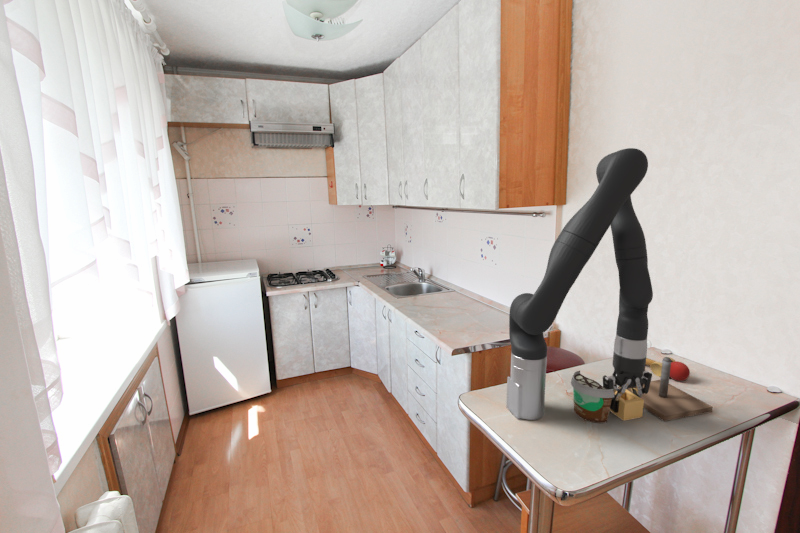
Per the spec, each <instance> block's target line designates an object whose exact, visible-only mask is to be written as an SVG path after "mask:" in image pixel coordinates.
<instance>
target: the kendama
mask: <svg viewBox="0 0 800 533" xmlns="http://www.w3.org/2000/svg"><path fill="white" fill-rule="evenodd" d="M668 357H669V358H670V359H671V368H670V376H669V378H671V379H672V380H674V381H677V382H678V381H679V382H683V381H687V379H688V378H689V377H690V368H689V367H688V366H687V365H686V364H685V363H684V362H682V361H676V360H675V359H674V358H673V357H670V356H668ZM662 362H663V360H662V361H661V362H660V361H656V360H654V359H650V358H648V357H646V365H645V366H648V367H649V366H650V370H651V373H652V374H654V375H655V376H657V377H659V378H661V370H662Z"/></svg>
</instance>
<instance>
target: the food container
mask: <svg viewBox="0 0 800 533" xmlns="http://www.w3.org/2000/svg"><path fill="white" fill-rule="evenodd" d="M570 385H571V386H572V389H573V391H572V392H573V393H572V394H573V411H574V414H576V415H577V416H578V417H580V418H581V419H583V420H585V421H588V422H592V423H597V424H603V423H604V424H605V423H608V420H609V414H610V411H609V410H610V405H611V400H612V398H613V397H614V391H613V389H609V390H608V389H606V388H604V387H603V385H602V384H600V383H599V382H598V381H596V380H594V379H591V378H589V377H586V376H584V375H583V374H582V373H581V370H576V371H575V372H574V373H573V375H572V376H571V378H570Z"/></svg>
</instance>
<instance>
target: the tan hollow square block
mask: <svg viewBox="0 0 800 533" xmlns="http://www.w3.org/2000/svg"><path fill="white" fill-rule="evenodd" d="M616 394H617V391H616V392H615V395H616ZM643 404H644V400H643V399H641V398H640V397H638V396H636V395H635V394H633V393H632V392H630V391H628V390H627V389H626V391H625V393H624V394H622V395H621V397H620V399H619V410H618V412H617V413H615V412H613V411H612V410H611V409H610V410H609V412H611V413H612V414H614V415H615V416H616V417H617V418H619V419H620V420H621V421H628V420H633V419H634V420H635V419H639V418H643V414H644V413H643V412H644V411H643V410H644V408H643Z"/></svg>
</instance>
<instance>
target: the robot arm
mask: <svg viewBox="0 0 800 533" xmlns="http://www.w3.org/2000/svg"><path fill="white" fill-rule="evenodd" d="M596 166H597V167H596V170H595V172H596V179H597V183H598V185H597V187H596V189H595V191H594V192H593V193H592V195H591V197H590V198H589V199H588V201H586V202H585V203H584V204H583V206H581V208H579V209H578V211H576V213H574V215H573V216H572V217H571V218H570V219H569V220H568V222H567V223H566V224H565V225H564V227H563V228H562V230H561V231H560V233H559V235H558V236H557V238H556V240H555V241H554V243H553V245H552V247H551V250H550V252H549V255H548V261H547V266H546V270H545V273H544V276H543V277H542V281H541V282H540V284H539V285H538V287H537V289H536V291H535V292H534V293H529V292H526V293H525V292H524V293H521V294H518V295H517V296H516V297H515V298H514V299H512V302H511V305H510V306H509V313H508V314H509V315H508V316H509V320H508V322H509V324H508V327H509V329H508V330H509V333H508V334H509V341H510V346H511V347H510V348H511V349H510V350H511V352H510V353H511V354H510V375H509V376H507V377H506V380H507V383H506V409H508V411H509V412H510V413H511V414H512V415H513V416H514V417H515V418H516V419H517V420H519V419H523V420H528V421H529V420H530V421H531V420H539V419H541V418H543V417H544V414H545V403H546V402H545V399H546V398H545V397H546V378H547V364H548V363H547V362H548V359H547V358H548V345H547V342H546V340H545V336H544V333H545V332H546V331H547V330H549V328H551V326H552V325H553V323H554V321H555V320H556V318H557V316H558V314H559V311H560V310H561V307H562V305H563V303H564V301H565V299H566V297H567V295H568V293H569V292H570V290H571V288H572V287H573V285H574V284H575V282H576V281H577V279H578V278H579V275H580V274H581V273H582V270H583V269H584V267H585V266H586V264H587V263H588V262H589V260H590V259H591V257H592V256H593V254H594V253H595V251H596V249H597V248H598V246H599V244H600V242H601V241H602V240H603V238H604V236H605V234H606V233H607V231H608V230H609V228H610V229H611V230H610V231H611V236H612V242H613V243H612V244H613V251H614V257H615V264H616V267H617V271H618V282H619V292H618V293H619V295H618V297H619V299H618V301H619V302H618V316H617V322H616V333H615V338H614V342H613V343H614V344H613V355H612V367H613V373H612V375H610V376H608V375H605V374H604V375H603V376H602V386H603V387H604V388H606V389H608V390H609V389H613V391H614V397H613V398H612V400H611V405H610V409H611V410H612V411H613V412H615V413H617V412H618V410H619V399H620V397H621V395H622V394H624V393H625V391H626V389H628V388H631V390H632V392H633V394H635V395H636V396H638V397H640V398H641V396H642V395H643V394H644V393H645V394H647V393H648V391H649V386H650V382H651V381H652V378H653V373H652V372H649V371H648V370H646V366H647V365H646V358H647V354H648V334H649V333H648V332H649V319H648V312H649V311H648V310H649V305H650V303H651V302H652V301H653V296H654V295H653V294H654V291H653V286H652V280H651V277H650V272H649V271H650V270H649V267H648V266H649V263H648V260H649V259H648V250H647V243H646V241H647V240H646V237H645V233H644V230H643V228H642V225H641V223H640V221H639V219H638V217H637V214H636V211H635V209H634V206H633V203H632V194H633V193H634V191H635V190H637V187H639V186H640V184H641V182H642V181H643V180H644V178H645V177H646V174H647V172H648V168H649V160H648V157H647V155H646V153H645V152H644V151H642V150H641V149H639V148H633V147H632V148H630V147H629V148H623V149H619V150H617V151H615V152H611V153H609V154H607V155H605V156H604V157H602V159H600V161H599V162H598V164H597V165H596ZM643 384H644V385H645V386H644V388H643ZM618 387H621V389H619V388H618ZM616 391H617V394H616V395H615V392H616Z"/></svg>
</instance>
